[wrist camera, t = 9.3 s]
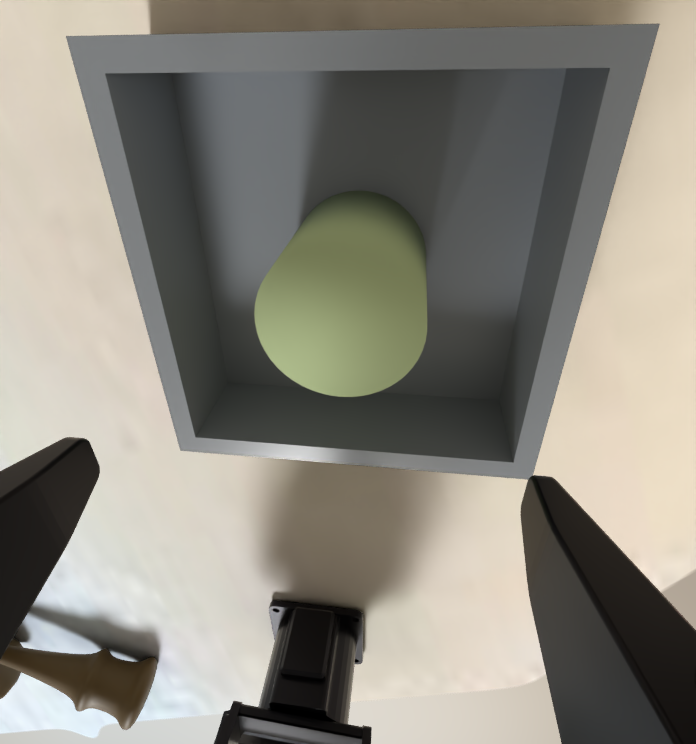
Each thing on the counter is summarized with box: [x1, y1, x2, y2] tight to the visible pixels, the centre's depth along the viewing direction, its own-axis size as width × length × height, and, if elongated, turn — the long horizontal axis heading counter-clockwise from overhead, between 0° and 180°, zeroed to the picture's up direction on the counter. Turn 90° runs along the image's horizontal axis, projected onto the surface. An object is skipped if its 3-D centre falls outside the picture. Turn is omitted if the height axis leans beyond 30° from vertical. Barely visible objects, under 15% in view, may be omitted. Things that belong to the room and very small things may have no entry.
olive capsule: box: [254, 191, 427, 397], centre depth 16 cm, size 5×5×6 cm
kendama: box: [0, 638, 157, 730], centre depth 38 cm, size 6×10×20 cm
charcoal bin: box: [66, 24, 659, 479], centre depth 17 cm, size 14×14×4 cm
